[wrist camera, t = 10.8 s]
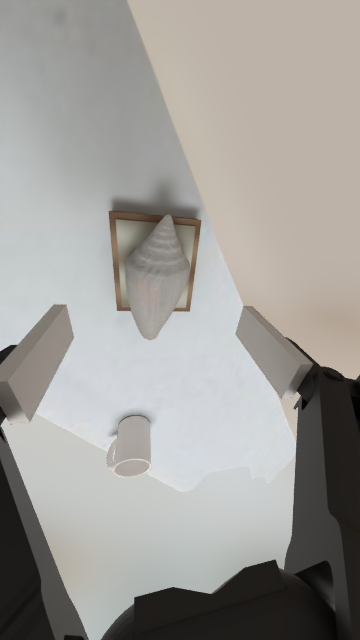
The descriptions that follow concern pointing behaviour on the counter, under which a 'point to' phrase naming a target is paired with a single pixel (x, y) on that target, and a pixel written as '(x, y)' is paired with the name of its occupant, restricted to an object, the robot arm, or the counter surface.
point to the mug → (131, 448)
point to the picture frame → (132, 233)
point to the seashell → (156, 278)
